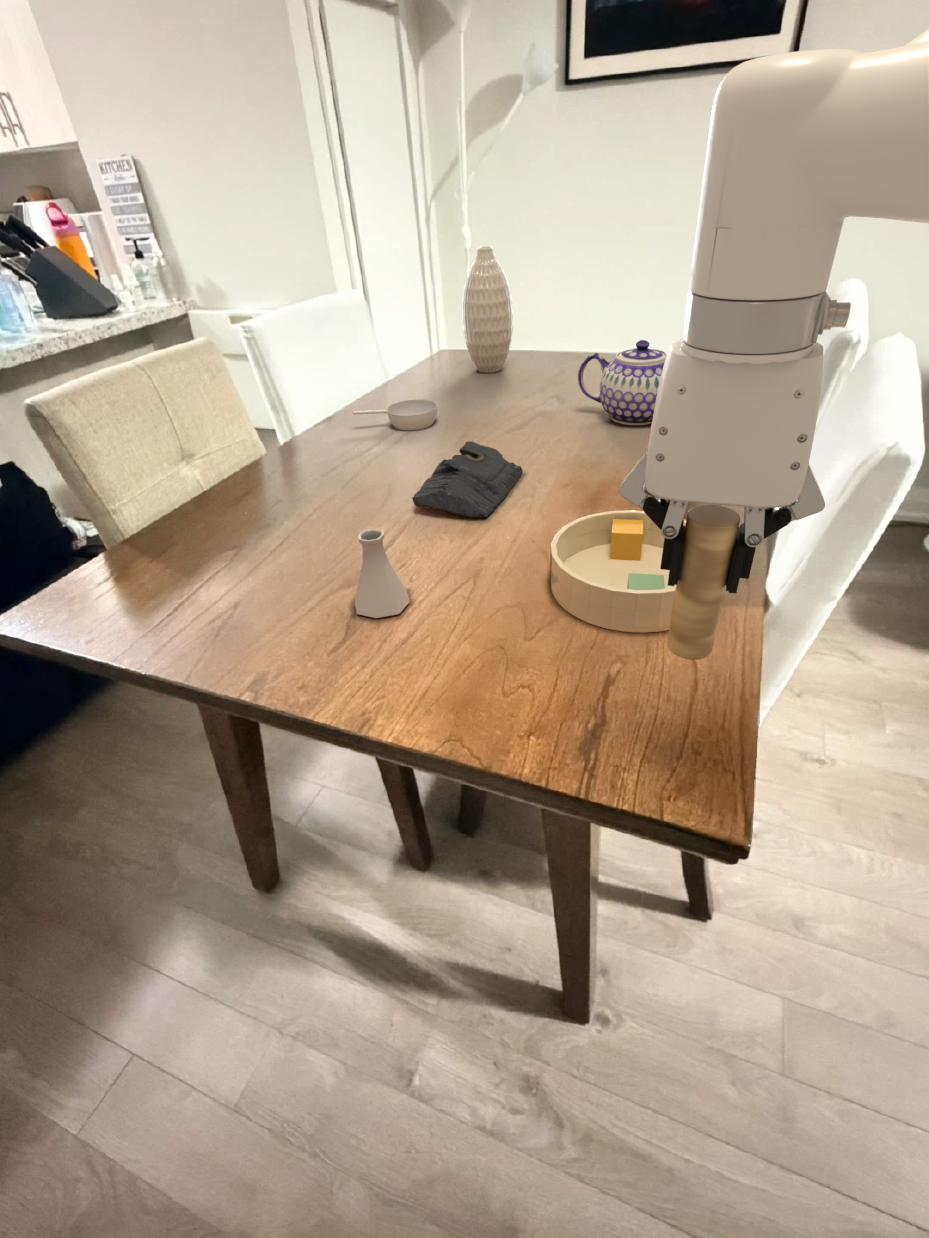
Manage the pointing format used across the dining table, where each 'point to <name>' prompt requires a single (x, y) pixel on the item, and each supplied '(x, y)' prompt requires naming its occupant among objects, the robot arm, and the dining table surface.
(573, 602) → the bowl
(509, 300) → the vase
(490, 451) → the dark slate chunk
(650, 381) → the teapot
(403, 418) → the small pan
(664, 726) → the dining table surface
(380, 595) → the flask
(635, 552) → the mustard block
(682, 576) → the beige marbled cylinder
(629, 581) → the sage block
